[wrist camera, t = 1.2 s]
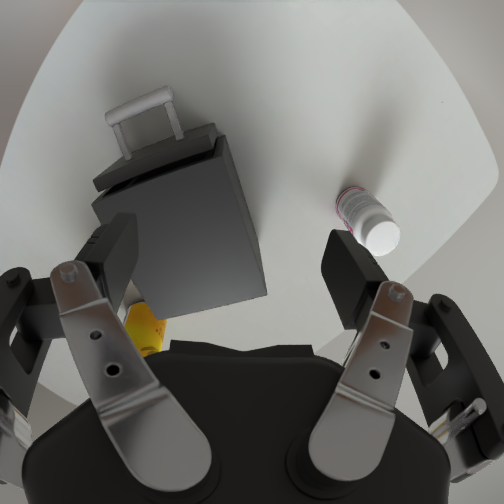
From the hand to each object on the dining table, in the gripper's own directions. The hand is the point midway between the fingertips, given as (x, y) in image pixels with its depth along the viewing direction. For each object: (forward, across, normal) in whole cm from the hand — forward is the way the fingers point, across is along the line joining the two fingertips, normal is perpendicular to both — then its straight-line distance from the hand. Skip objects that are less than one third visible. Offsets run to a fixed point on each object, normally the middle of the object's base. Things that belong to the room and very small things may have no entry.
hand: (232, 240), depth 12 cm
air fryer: (+20, +3, +8) cm, 22 cm away
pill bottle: (+20, -15, +5) cm, 26 cm away
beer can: (+20, +10, +25) cm, 34 cm away
